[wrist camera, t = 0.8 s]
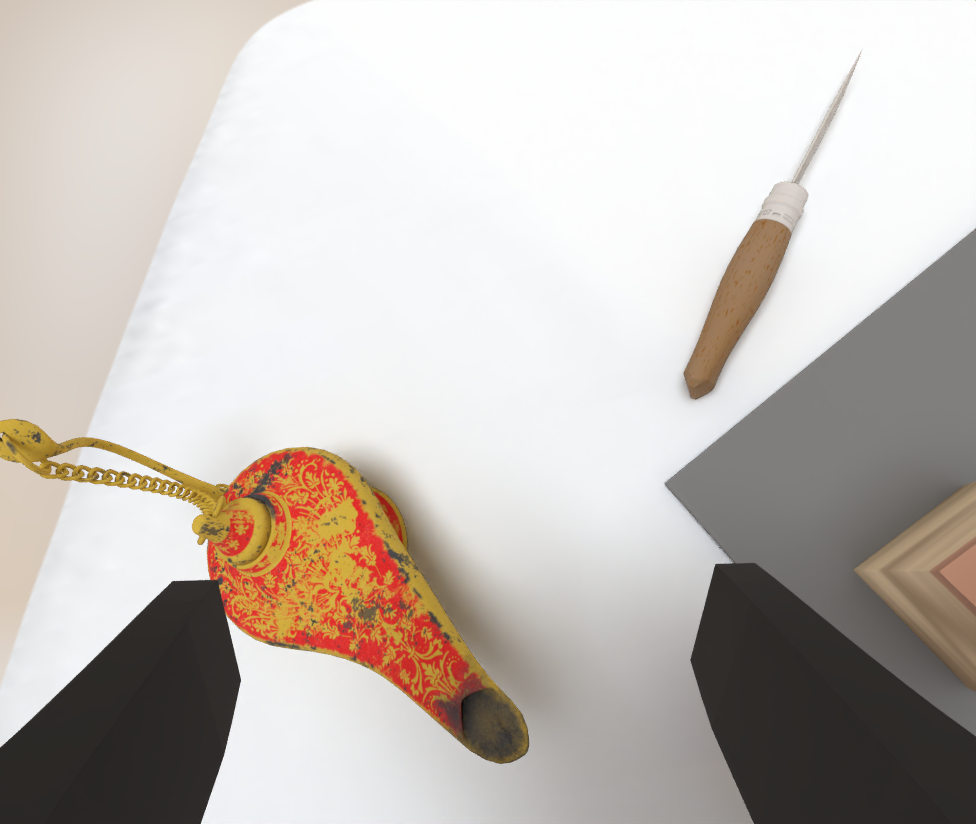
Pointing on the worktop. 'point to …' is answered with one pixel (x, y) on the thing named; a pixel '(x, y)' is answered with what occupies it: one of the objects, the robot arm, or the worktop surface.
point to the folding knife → (751, 271)
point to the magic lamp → (319, 575)
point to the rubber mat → (856, 466)
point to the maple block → (934, 580)
